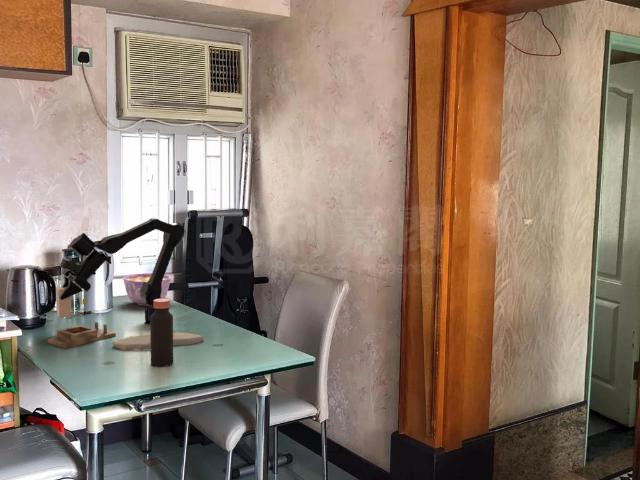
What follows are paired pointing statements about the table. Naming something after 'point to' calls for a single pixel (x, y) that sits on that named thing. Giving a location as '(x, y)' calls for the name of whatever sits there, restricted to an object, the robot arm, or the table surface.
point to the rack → (80, 335)
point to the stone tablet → (145, 341)
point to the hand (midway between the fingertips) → (59, 297)
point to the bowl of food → (135, 284)
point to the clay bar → (63, 303)
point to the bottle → (161, 334)
